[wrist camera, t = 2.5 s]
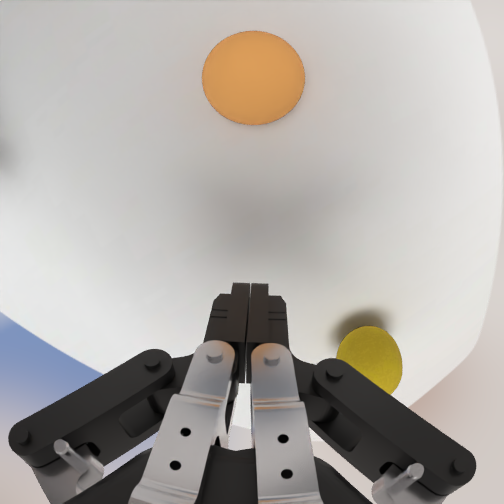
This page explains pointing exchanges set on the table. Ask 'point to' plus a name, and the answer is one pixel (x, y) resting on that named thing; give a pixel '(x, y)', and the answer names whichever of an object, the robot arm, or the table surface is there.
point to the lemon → (373, 356)
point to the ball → (253, 77)
